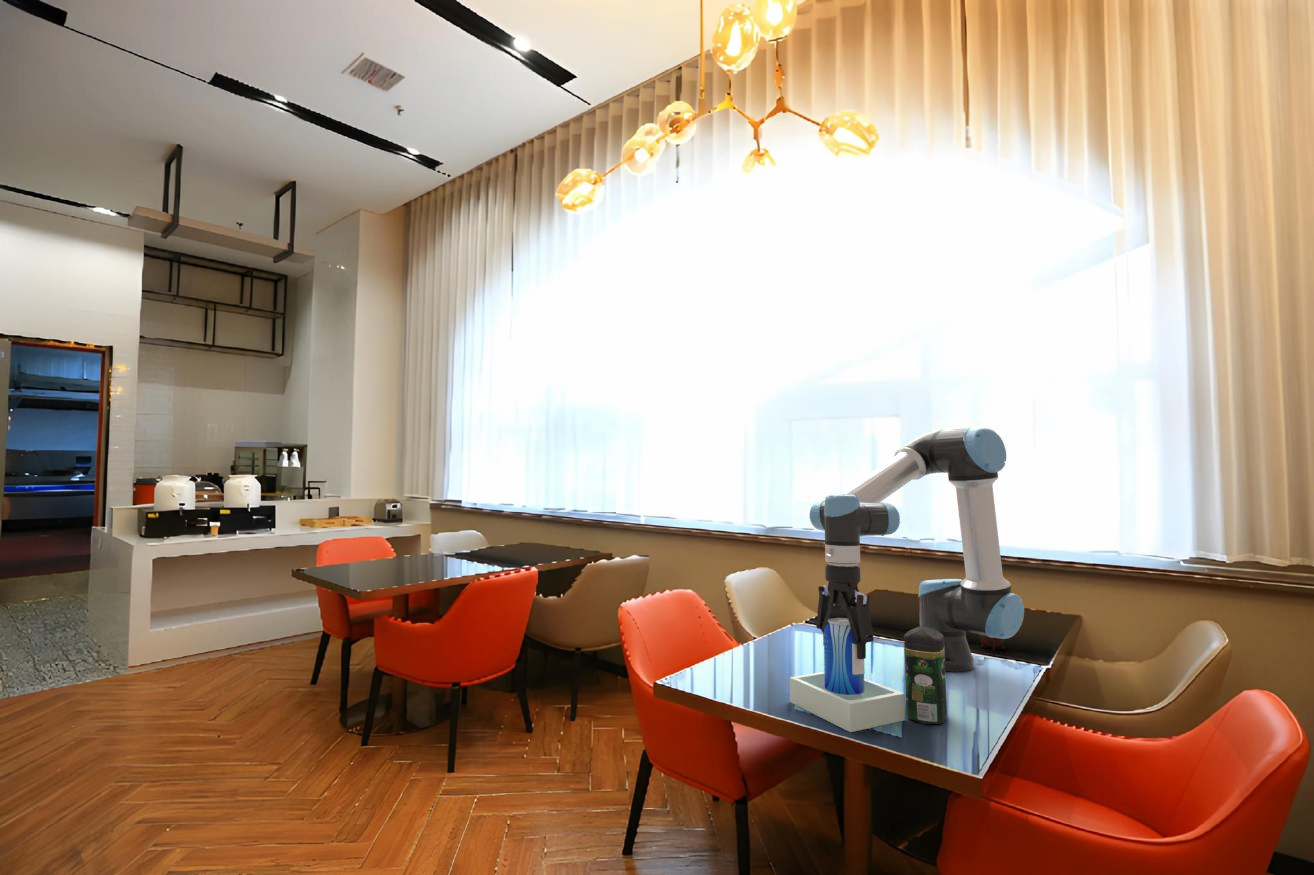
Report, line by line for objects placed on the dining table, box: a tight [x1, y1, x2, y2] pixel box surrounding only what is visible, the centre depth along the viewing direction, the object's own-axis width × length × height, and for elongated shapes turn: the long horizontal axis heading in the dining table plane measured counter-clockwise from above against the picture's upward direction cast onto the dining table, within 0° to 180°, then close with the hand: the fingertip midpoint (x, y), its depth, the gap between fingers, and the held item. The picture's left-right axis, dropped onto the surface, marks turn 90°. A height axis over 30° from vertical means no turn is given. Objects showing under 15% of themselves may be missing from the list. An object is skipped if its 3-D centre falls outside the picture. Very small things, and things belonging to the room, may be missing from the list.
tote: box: [789, 671, 906, 733], centre depth 139 cm, size 15×19×6 cm
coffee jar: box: [903, 626, 948, 725], centre depth 135 cm, size 10×8×19 cm
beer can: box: [823, 617, 865, 700], centre depth 139 cm, size 8×8×16 cm
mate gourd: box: [978, 634, 1006, 652], centre depth 192 cm, size 8×8×15 cm
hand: (844, 668), depth 139 cm, fingers closed on beer can, 8 cm apart
